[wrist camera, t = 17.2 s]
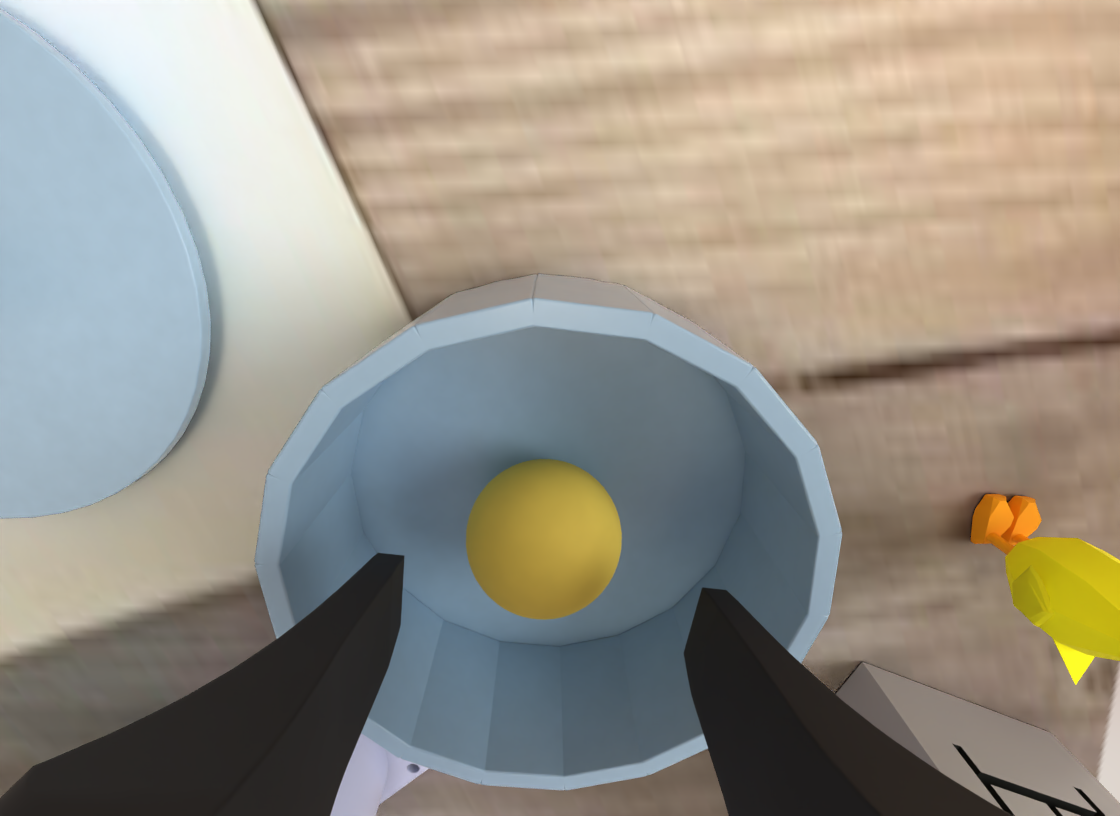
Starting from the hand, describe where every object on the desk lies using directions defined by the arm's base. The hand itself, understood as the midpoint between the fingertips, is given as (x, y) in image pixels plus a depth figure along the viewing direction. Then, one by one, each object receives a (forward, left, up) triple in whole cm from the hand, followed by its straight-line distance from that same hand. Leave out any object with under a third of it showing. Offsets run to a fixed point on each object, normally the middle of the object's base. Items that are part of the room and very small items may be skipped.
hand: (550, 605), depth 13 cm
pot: (0, 0, -6) cm, 6 cm away
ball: (0, 0, -3) cm, 3 cm away
